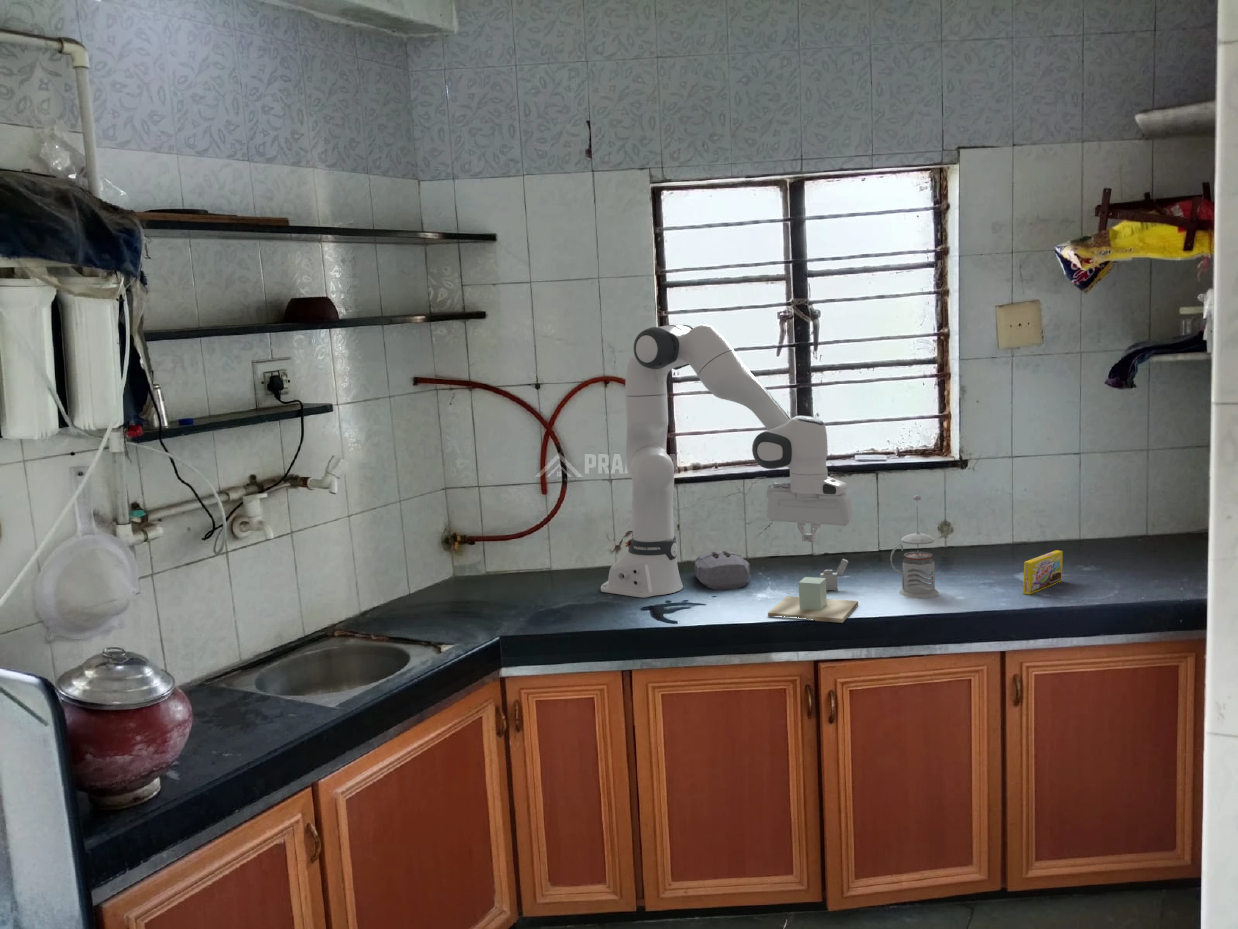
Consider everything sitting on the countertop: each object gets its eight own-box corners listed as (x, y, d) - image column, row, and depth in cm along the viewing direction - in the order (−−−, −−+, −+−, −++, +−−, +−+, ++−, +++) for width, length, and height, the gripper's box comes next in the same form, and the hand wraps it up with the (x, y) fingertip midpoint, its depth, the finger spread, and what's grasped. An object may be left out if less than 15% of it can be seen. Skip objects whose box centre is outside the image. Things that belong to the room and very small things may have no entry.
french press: (941, 597, 244) (939, 498, 241) (892, 598, 246) (890, 499, 243) (937, 587, 253) (935, 491, 250) (890, 587, 256) (887, 492, 252)
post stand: (768, 616, 237) (767, 592, 236) (786, 599, 250) (786, 576, 250) (842, 622, 229) (841, 597, 228) (858, 605, 242) (857, 581, 241)
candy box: (1030, 596, 241) (1030, 562, 240) (1022, 594, 243) (1022, 561, 242) (1063, 582, 252) (1063, 550, 250) (1055, 580, 253) (1055, 549, 252)
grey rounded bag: (756, 587, 264) (739, 570, 284) (755, 557, 263) (738, 541, 283) (701, 592, 263) (687, 574, 283) (699, 562, 262) (686, 546, 282)
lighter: (821, 591, 257) (820, 561, 255) (820, 589, 258) (819, 559, 257) (849, 589, 256) (848, 559, 255) (848, 588, 258) (847, 558, 257)
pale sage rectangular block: (799, 609, 238) (798, 582, 238) (805, 603, 243) (804, 577, 242) (820, 610, 236) (819, 583, 235) (826, 604, 241) (825, 578, 240)
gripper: (762, 484, 237) (763, 540, 239) (847, 488, 228) (847, 547, 230) (771, 480, 243) (771, 535, 245) (854, 484, 233) (853, 541, 235)
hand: (808, 541), depth 237 cm, fingers closed
